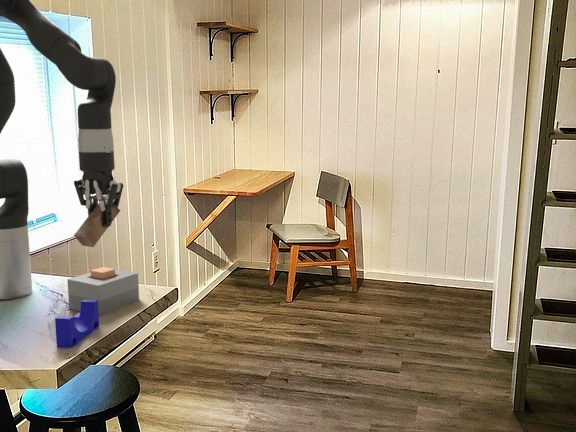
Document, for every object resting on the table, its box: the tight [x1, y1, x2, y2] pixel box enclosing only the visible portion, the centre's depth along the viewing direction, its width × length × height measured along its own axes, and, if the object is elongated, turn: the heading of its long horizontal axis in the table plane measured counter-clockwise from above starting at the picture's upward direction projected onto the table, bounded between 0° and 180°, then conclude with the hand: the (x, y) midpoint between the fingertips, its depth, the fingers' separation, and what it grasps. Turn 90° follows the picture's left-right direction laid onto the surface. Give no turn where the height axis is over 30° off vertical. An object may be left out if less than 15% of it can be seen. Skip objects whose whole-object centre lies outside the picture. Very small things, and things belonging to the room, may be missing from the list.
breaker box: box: [67, 267, 140, 317], centre depth 148 cm, size 10×12×7 cm
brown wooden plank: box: [73, 200, 121, 248], centre depth 144 cm, size 4×4×11 cm
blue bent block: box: [54, 299, 100, 349], centre depth 128 cm, size 12×4×6 cm, turn 171°
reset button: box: [90, 266, 116, 280], centre depth 147 cm, size 4×4×3 cm
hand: (100, 225), depth 145 cm, fingers closed on brown wooden plank, 3 cm apart
